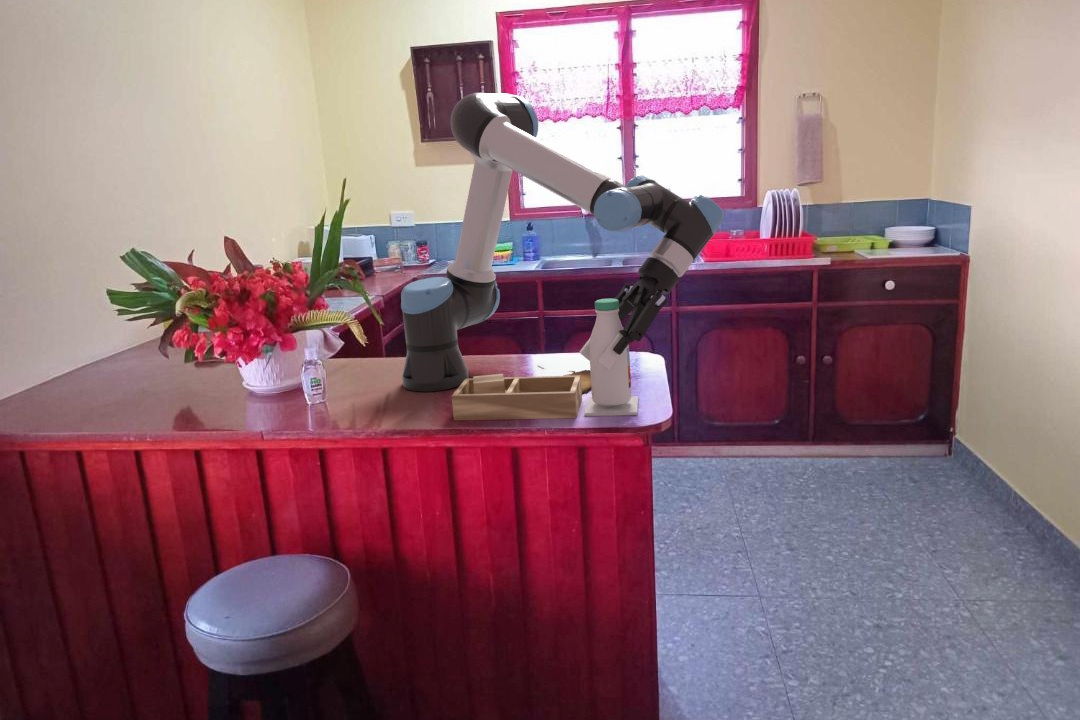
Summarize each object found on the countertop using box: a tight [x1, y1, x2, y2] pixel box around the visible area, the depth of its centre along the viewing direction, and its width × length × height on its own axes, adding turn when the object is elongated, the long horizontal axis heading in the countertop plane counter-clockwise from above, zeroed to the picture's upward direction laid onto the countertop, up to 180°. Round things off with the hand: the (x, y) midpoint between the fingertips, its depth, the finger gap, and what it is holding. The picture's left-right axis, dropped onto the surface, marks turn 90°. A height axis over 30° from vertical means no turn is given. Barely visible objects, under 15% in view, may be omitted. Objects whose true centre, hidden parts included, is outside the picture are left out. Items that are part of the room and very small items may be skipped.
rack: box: [451, 375, 583, 421], centre depth 157 cm, size 12×24×5 cm, turn 82°
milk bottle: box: [589, 298, 632, 406], centre depth 152 cm, size 8×8×20 cm
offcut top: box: [472, 373, 505, 394], centre depth 157 cm, size 5×6×4 cm
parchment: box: [562, 369, 591, 396], centre depth 170 cm, size 25×10×1 cm, turn 159°
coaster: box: [584, 395, 639, 417], centre depth 154 cm, size 10×10×1 cm
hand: (593, 360), depth 151 cm, fingers closed on milk bottle, 7 cm apart
